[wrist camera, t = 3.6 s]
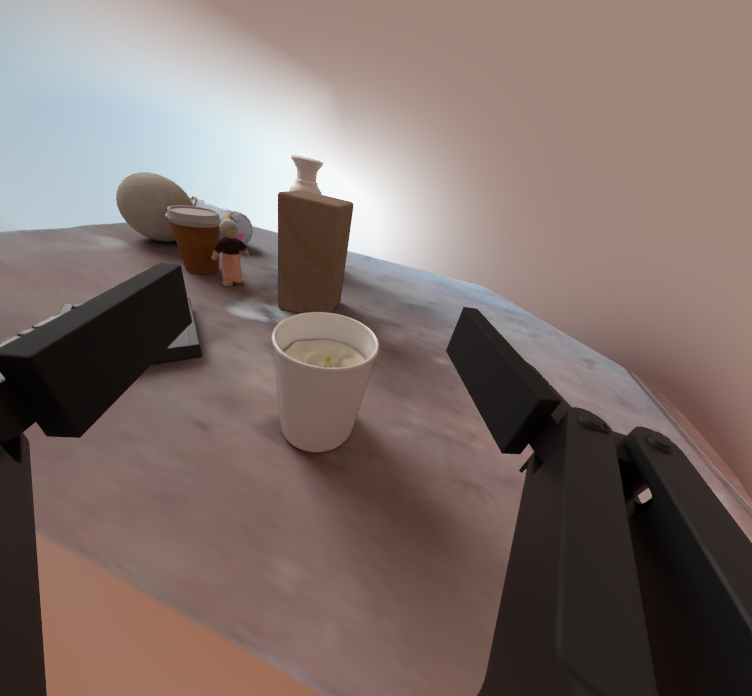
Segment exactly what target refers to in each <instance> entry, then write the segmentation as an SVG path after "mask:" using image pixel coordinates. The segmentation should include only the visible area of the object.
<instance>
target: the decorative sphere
mask: <svg viewBox="0 0 752 696" xmlns="http://www.w3.org/2000/svg"><path fill="white" fill-rule="evenodd" d="M116 196H117V197H116V200H117V205H118V208H119V211H120V213H121V215H122V216H123V218H124V219H125V220H126V222H127V223H128V224H129V225H130V226H131V227H132V228H133V229H135V230H136V231H137V232H139V233H140V234H142V235H144V236H146V237H148V238H151V239H154V240H158V241H164V242H170V241H176V239H175V236H174V233H173V230H172V227H171V224H170V221H168V218H167V217H166V216H165V214H166V213H167V207H169V206H174V205H185V206H193V204H192V202H191V200H190V198H189V197H188V195H187V194H186V193H185V192H184V191H183V190H182V189H181V188H180V187H179V186H178V185H177V184H175V183H174V182H173V181H171V180H169V179H167V178H165V177H163V176H160V175H157V174H153V173H136V174H132V175H130V176H128V177H127V178H125V179H124V180H123V181H122V182H121V184H120V185H119V187H118V190H117V194H116Z"/></svg>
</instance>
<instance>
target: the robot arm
mask: <svg viewBox="0 0 752 696" xmlns="http://www.w3.org/2000/svg"><path fill="white" fill-rule="evenodd" d="M191 323H192V319H191V314H190V309H189V304H188V299H187V294H186V289H185V284H184V279H183V274H182V269H181V266H179V265H173V264H166V263H159V264H157V265H155V266H153V267H151V268H150V269H148V270H146V271H144V272H142V273H140V274H138V275H136V276H134V277H133V278H131V279H129V280H127V281H125V282H123V283H121V284H119V285H117V286H116V287H114V288H112V289H110V290H108V291H106V292H104V293H102V294H100V295H98V296H97V297H95V298H93V299H91V300H89V301H87V302H85V303H83V304H81V305H80V306H78V307H76V308H74V309H72V310H70V311H68V312H65V313H62V314H59V315H55V316H52V317H49V318H47V319H45V320H43V321H41V322H39V323H37V324H35V325H33V326H32V328H27V329H25V330H23V331H21V332H19V333H18V334H17V336H12V337H10V338H8V339H6V340H4V341H2V342H0V696H47V694H46V679H45V665H44V651H43V636H42V621H41V608H40V593H39V579H38V564H37V550H36V535H35V520H34V506H33V491H32V477H31V462H30V448H29V441H28V439H27V438H26V436H25V435H24V434H23V432H24V431H25V430H26V429H27V428H29V427H30V426H31V425H32V424H33V423H35V422H37V424H38V425H39V426H40V428H41V429H42V430H43V432H44V433H45V435H46V436H51V437H78V438H80V437H81V436H82V435H83V434H84V433H85V432H86V431H87V430H88V429H89V428H90V427H91V426H92V425H93V424H94V423H95V422H96V421H97V420H98V419H99V418H100V417H101V416H102V414H103V413H104V412H105V411H106V410H107V409H108V408H109V407H110V406H111V405H112V404H113V403H114V402H115V401H116V400H117V399H118V398H119V397H120V396H121V395H122V394H123V393H124V392H125V391H126V390H127V389H128V388H129V387H130V386H131V385H132V384H133V383H134V382H135V381H136V380H137V379H138V378H139V376H140V375H141V374H142V373H143V372H144V371H145V370H146V369H147V368H148V367H149V366H150V365H151V364H152V363H153V362H154V361H155V360H156V359H157V358H158V357H159V356H160V355H161V354H162V353H163V352H164V351H165V350H166V349H167V348H168V347H169V346H170V345H171V344H172V343H173V342H174V341H175V340H176V338H177V337H178V336H179V335H180V334H181V333H182V332H183V331H184V330H185V329H186V328H187V327H188V326H189V325H190V324H191ZM446 352H447V353H448V355H449V357H450V359H451V361H452V363H453V364H454V366H455V368H456V370H457V372H458V374H459V375H460V377H461V379H462V381H463V383H464V385H465V386H466V388H467V390H468V392H469V394H470V396H471V397H472V399H473V401H474V403H475V405H476V407H477V408H478V410H479V412H480V414H481V416H482V418H483V420H484V421H485V423H486V425H487V427H488V429H489V431H490V432H491V434H492V436H493V438H494V440H495V442H496V443H497V445H498V447H499V449H500V451H501V453H505V454H521V453H522V451H523V450H524V449H525V447H526V446H527V445H528V444H530V446H531V447H532V449H533V450H534V453H533V454H532V455H531V456H530V457H529V459H528V460H527V461H526V462H525V463H524V465H523V466H522V467H521V469H520V470H519V471H520V472H523V471H524V470H525V469H527V472H526V477H525V482H524V487H523V492H522V497H521V502H520V507H519V512H518V517H517V522H516V527H515V532H514V537H513V542H512V547H511V552H510V557H509V562H508V567H507V572H506V577H505V582H504V587H503V592H502V597H501V602H500V607H499V612H498V617H497V622H496V627H495V632H494V637H493V642H492V647H491V652H490V657H489V662H488V667H487V672H486V676H485V680H484V683H483V685H482V688H481V690H480V692H479V693H478V695H477V696H752V543H751V541H750V540H749V539H748V537H747V536H746V535H745V534H744V532H743V531H742V530H741V528H740V527H739V526H738V524H737V523H736V522H735V520H734V519H733V518H732V516H731V515H730V514H729V512H728V511H727V510H726V508H725V507H724V506H723V504H722V503H721V502H720V501H719V499H718V498H717V497H716V495H715V494H714V493H713V491H712V490H711V489H710V487H709V486H708V485H707V483H706V482H705V481H704V479H703V478H702V477H701V475H700V474H699V473H698V471H697V470H696V469H695V467H694V466H693V465H692V464H691V462H690V461H689V460H688V458H687V457H686V456H685V454H684V453H683V452H682V451H681V450H680V449H679V447H678V446H677V445H675V444H674V443H673V442H672V441H670V439H669V438H667V437H666V436H663V434H661V433H659V432H655V431H653V430H651V429H648V428H645V427H636V428H634V429H633V430H632V431H631V432H630V433H629V434H628V435H627V436H626V435H623V434H620V433H616V432H613V431H612V430H611V428H610V427H609V426H608V425H607V423H606V422H605V421H603V420H602V419H601V418H599V417H598V416H596V415H595V414H593V413H591V412H589V411H587V410H584V409H582V408H576V407H574V408H572V407H571V406H570V405H569V404H568V403H567V402H566V401H565V400H564V399H563V398H562V396H561V395H560V394H559V393H558V392H557V391H556V390H555V389H554V388H553V387H552V386H551V385H549V383H548V382H547V380H546V379H545V378H542V377H543V376H542V375H541V374H540V373H539V372H538V371H537V370H536V369H535V368H534V367H533V366H531V365H530V364H529V363H527V362H526V361H525V360H524V359H523V358H522V357H521V356H520V355H519V354H518V353H517V352H516V351H515V350H514V348H513V347H512V346H511V345H510V344H509V343H508V342H507V341H506V340H505V339H504V338H503V337H502V335H501V334H500V333H499V332H498V331H497V330H496V329H495V328H494V327H493V326H492V325H491V323H490V322H489V321H488V320H487V319H486V318H485V317H484V316H483V315H482V314H481V313H480V311H479V310H478V309H474V308H467V307H464V308H463V310H462V312H461V315H460V317H459V320H458V322H457V325H456V327H455V330H454V332H453V335H452V337H451V340H450V342H449V345H448V347H447V350H446ZM648 487H649V489H650V491H651V493H652V498H651V499H650V500H648V501H647V502H645V503H643V504H642V503H641V502H640V500H639V498H638V495H639V494H640V493H642V492H643V491H644V490H646V489H647V488H648Z"/></svg>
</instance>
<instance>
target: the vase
mask: <svg viewBox="0 0 752 696" xmlns="http://www.w3.org/2000/svg"><path fill="white" fill-rule="evenodd" d="M291 157H292V159H293V161H294V163H295V165H296V167H297V179H296V181H295V183H294V184H293V185H292V186H291V188H290V192H293V191H306V192H311V193H315V194H319V195H321V192H320V190H319V189H318V187H317V183H316V174H317V171H318V170H319V169H320V167H321V166H322V165H323V163H322V162H320V161H317V160H314V159H310V158H306V157H301V156H294V155H292V156H291Z"/></svg>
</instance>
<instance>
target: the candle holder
mask: <svg viewBox="0 0 752 696" xmlns="http://www.w3.org/2000/svg"><path fill="white" fill-rule="evenodd" d="M272 344H273V349H274V360H275V372H276V384H277V395H278V407H279V417H280V425H281V430H282V433H283V435H284V437H285V438H286V439H287V441H288V442H289V443H290V444H292V445H293V446H295V447H296V448H298V449H301V450H304V451H308V452H325V451H329V450H332V449H335V448H337V447H338V446H340V445H341V444H343V443H344V442H345V441H346V440H347V439H348V437H349V436H350V434H351V432H352V430H353V427H354V424H355V421H356V418H357V415H358V412H359V409H360V405H361V402H362V399H363V396H364V393H365V390H366V386H367V383H368V380H369V377H370V374H371V370H372V367H373V364H374V361H375V358H376V356H377V354H378V351H379V342H378V339H377V337H376V335H375V334H374V333H373V331H372V330H371V329H369V328H368V327H367V326H366V325H364V324H362V323H361V322H359V321H357V320H355V319H352V318H349V317H346V316H343V315H339V314H334V313H326V312H308V313H301V314H297V315H293V316H291V317H288V318H286V319H284V320H283V321H281V322H280V323H279V324H278V325H277V326H276V327H275V328H274V330H273V333H272Z"/></svg>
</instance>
